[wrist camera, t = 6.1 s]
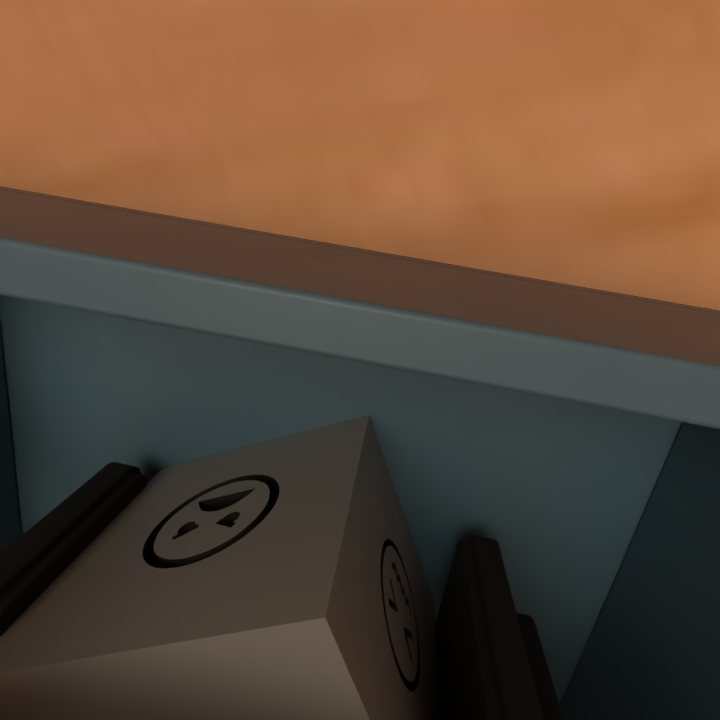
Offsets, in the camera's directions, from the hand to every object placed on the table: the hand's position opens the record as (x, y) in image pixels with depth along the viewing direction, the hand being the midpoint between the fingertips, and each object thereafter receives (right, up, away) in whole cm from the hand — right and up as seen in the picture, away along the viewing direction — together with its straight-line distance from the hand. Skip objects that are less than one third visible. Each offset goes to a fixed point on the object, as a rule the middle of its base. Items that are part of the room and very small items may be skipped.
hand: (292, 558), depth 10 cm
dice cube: (0, 0, +1) cm, 1 cm away
